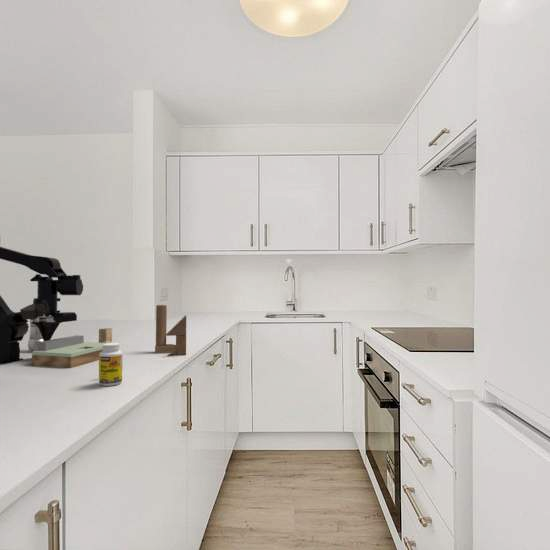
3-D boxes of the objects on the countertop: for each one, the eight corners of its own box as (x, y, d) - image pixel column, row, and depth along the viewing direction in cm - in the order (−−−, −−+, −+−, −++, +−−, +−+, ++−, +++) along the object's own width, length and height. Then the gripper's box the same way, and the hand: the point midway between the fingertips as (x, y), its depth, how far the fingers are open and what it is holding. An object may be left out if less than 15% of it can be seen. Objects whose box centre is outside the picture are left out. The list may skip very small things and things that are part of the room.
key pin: (98, 353, 141) (98, 328, 141) (104, 352, 144) (104, 327, 144) (106, 354, 140) (106, 329, 140) (111, 352, 143) (112, 328, 143)
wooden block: (186, 355, 139) (186, 305, 139) (154, 356, 136) (155, 305, 136) (185, 353, 142) (186, 304, 143) (155, 354, 140) (155, 304, 140)
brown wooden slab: (31, 368, 116) (31, 355, 116) (80, 356, 135) (80, 344, 135) (71, 371, 113) (71, 357, 113) (114, 358, 132) (115, 346, 132)
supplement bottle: (96, 387, 96) (97, 346, 96) (101, 381, 101) (101, 342, 101) (120, 386, 97) (120, 345, 97) (123, 380, 102) (124, 342, 103)
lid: (32, 354, 116) (32, 343, 116) (80, 344, 135) (80, 334, 135) (71, 357, 113) (71, 345, 113) (115, 346, 132) (115, 336, 132)
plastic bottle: (43, 349, 149) (43, 297, 149) (51, 351, 145) (52, 298, 145) (24, 351, 144) (25, 298, 144) (32, 353, 140) (33, 298, 140)
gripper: (2, 295, 122) (1, 345, 121) (51, 296, 117) (50, 348, 117) (32, 294, 132) (31, 340, 132) (78, 295, 128) (77, 342, 128)
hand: (46, 342), depth 127 cm, fingers closed
